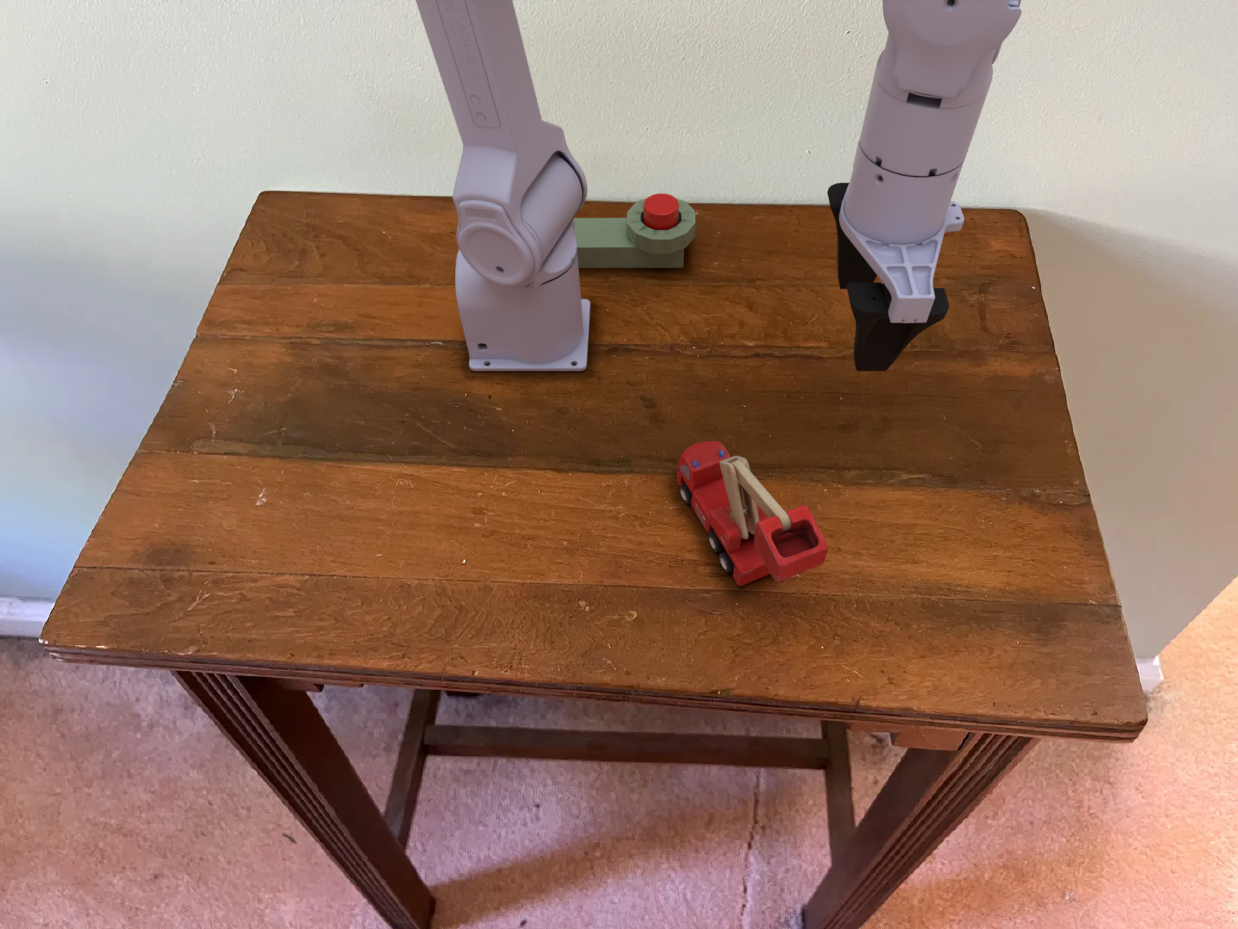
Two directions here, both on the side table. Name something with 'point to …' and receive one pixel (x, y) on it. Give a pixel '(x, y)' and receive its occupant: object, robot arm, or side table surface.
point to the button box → (633, 240)
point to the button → (661, 211)
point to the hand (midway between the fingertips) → (862, 324)
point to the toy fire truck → (747, 517)
